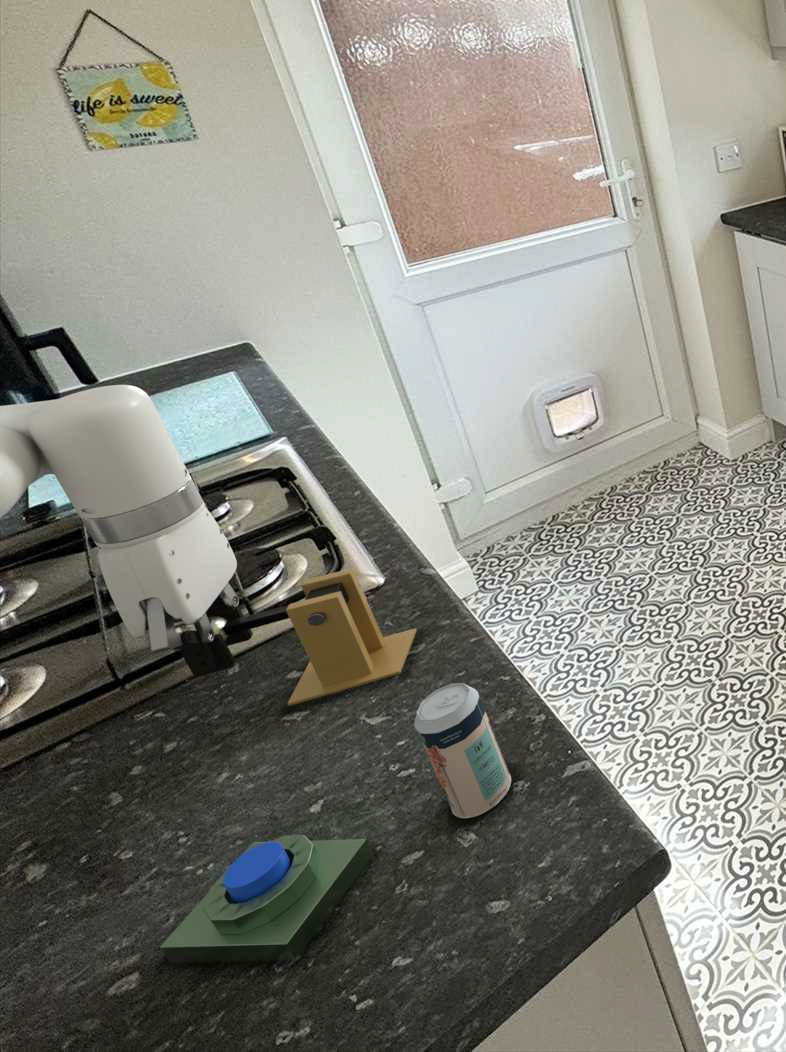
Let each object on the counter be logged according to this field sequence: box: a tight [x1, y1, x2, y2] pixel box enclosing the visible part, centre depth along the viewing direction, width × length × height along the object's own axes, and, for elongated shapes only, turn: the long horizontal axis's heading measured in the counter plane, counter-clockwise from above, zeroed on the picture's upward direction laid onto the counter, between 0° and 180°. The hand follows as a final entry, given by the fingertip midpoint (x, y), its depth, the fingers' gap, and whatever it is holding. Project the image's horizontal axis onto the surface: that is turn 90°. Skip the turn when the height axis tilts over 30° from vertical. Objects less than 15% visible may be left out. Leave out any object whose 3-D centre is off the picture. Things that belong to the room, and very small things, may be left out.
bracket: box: [286, 568, 418, 707], centre depth 85 cm, size 10×7×12 cm
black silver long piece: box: [188, 583, 349, 641], centre depth 82 cm, size 13×3×3 cm, turn 113°
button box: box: [159, 834, 374, 964], centre depth 63 cm, size 10×8×4 cm
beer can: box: [413, 682, 512, 819], centre depth 70 cm, size 5×5×12 cm
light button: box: [223, 841, 290, 902], centre depth 62 cm, size 4×4×2 cm
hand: (224, 654), depth 81 cm, fingers closed on black silver long piece, 3 cm apart
